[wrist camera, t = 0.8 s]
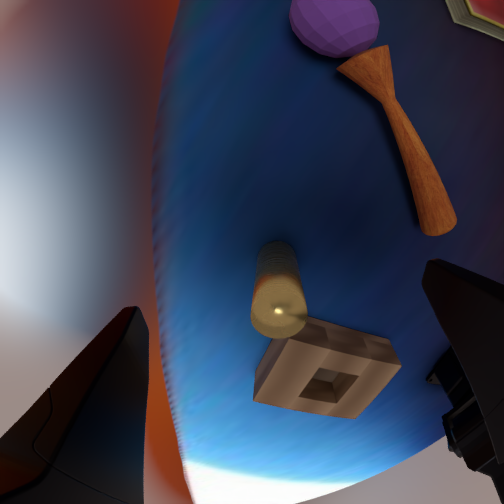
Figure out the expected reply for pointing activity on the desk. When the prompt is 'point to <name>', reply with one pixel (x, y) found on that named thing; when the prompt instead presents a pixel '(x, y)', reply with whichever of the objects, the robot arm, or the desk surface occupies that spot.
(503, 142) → the desk surface
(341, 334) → the bore block
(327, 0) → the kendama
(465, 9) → the hardcover book
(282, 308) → the brass pin
